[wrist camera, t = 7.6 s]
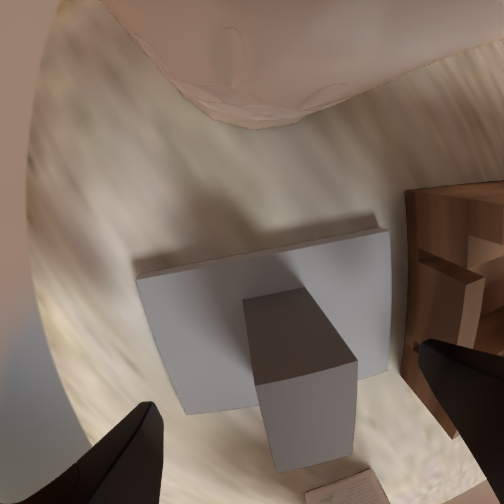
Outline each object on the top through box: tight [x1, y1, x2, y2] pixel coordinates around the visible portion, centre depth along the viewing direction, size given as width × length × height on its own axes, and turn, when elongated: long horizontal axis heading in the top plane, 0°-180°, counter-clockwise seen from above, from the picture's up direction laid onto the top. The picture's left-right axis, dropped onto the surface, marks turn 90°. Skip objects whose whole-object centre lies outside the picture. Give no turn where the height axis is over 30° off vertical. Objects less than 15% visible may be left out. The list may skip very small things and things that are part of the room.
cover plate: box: [135, 228, 392, 473], centre depth 9 cm, size 10×7×6 cm
